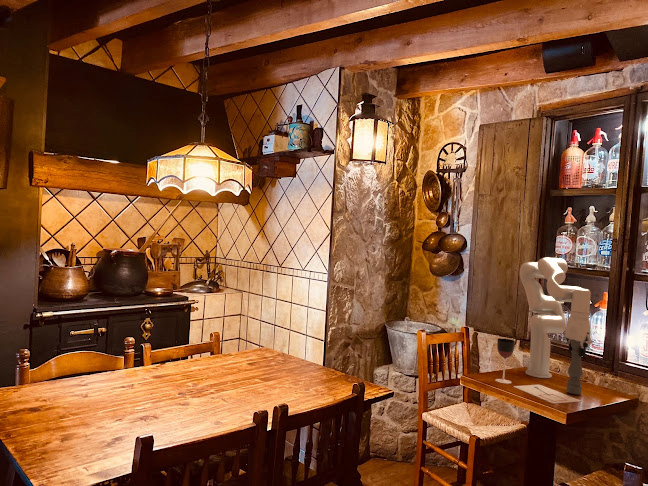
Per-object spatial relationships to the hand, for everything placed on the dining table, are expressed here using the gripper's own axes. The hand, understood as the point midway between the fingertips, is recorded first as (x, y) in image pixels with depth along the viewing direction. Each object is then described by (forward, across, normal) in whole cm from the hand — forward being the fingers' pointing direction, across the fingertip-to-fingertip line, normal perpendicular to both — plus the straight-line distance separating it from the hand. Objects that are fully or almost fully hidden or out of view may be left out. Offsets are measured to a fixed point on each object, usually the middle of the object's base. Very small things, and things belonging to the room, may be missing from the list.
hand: (576, 354), depth 234 cm
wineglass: (+19, -23, -20) cm, 36 cm away
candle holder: (+18, 0, 0) cm, 18 cm away
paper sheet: (+18, -2, -14) cm, 23 cm away
